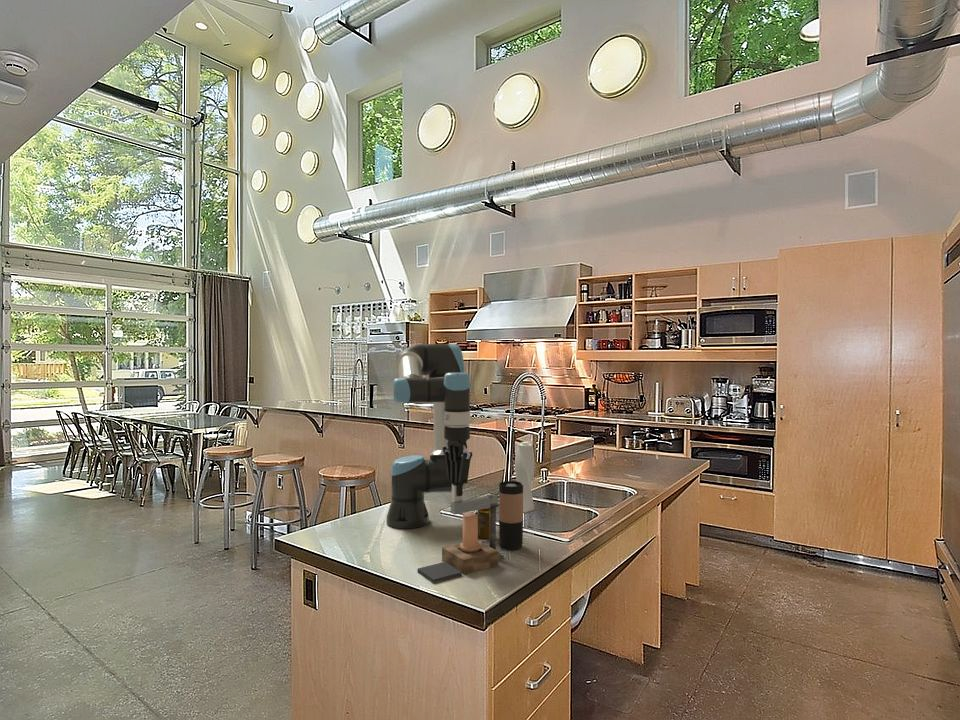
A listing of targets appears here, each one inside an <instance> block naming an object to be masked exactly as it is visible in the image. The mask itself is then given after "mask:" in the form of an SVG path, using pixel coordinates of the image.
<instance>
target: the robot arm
mask: <svg viewBox="0 0 960 720" xmlns="http://www.w3.org/2000/svg"><path fill="white" fill-rule="evenodd" d="M464 361H465V360H464V355H463V352H462V348H461V347H460V346H459V345H458V344H453V343H452V344H451V343H430V344H429V343H420V344H419V343H418V344H414V345H411V346H408V347H407V348H405V349H403V350H402V351H401V352H400V353H399V354H398V355H397V357H396V360H395V367H396V368H395V370H396V371H397V373H398V377H397V378H394V380H393V401H394V402H395V403H400V404H401V403H402V404H403V403H404V404H410V403H411V404H414V403H417V404H419V403H420V404H421V403H433V405H432V406H433V450H432V452H431V453H430V454H429V459H426V458H425V456H424V455H421V454H420V455H419V454H418V455H417V454H415V455H413V454H412V455H407V456H402V457H399V458H397V459H395V460H393V462H392V463H391V472H390V476H391V491H390V492H391V495H390V496H391V498H390V504H389V508H388V511H387V515H386V520H385V521H386V525H387V526H389V527H391V528H396V529H403V530H404V529H406V530H407V529H417V528H421V527H424V526H426V525H428V524H429V523H430V515H429V511H428V508H427V504H426V503H425V494H428V493H429V494H430V493H431V494H432V493H433V494H435V493H451V502H456V501H462V500H463V494H464V493H463V492H464V491H463V490H464V489H463V488H464V486H465V484H467V483H468V480H469V474H470V473H469V472H470V466H471V460H472V458H473V452H472V451H469V450H468V444H467V441H468V440H470V439H471V427H470V425H471V408H470V407H471V405H470V404H471V385H472V384H471V378H470V374H469V373H467V372H465V362H464ZM423 376H428V377H423Z"/></svg>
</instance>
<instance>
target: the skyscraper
mask: <svg viewBox="0 0 960 720" xmlns="http://www.w3.org/2000/svg"><path fill="white" fill-rule="evenodd" d="M534 452H535V451H534V440H533V438H531V439H530V443H529V441H521V443H519V442H518V441H517V444H516V451H515V460H514V472H515V473H514V474H515V480H516V481H517V482H520V483H521V484H522V485H523V515H524V514H529V513H532V512H535V511H538V508H535V504H534V500H533V494H532V486H533V481H534V477H535V466H536V465H535V454H534Z"/></svg>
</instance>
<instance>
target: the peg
mask: <svg viewBox="0 0 960 720" xmlns="http://www.w3.org/2000/svg"><path fill="white" fill-rule="evenodd" d="M460 543H461V544H460V550H462V551H463V552H464V553H466V554H470V553H474V552H478V550H480V543H478V513H473V512H466V513H462V542H460Z"/></svg>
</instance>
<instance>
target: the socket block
mask: <svg viewBox="0 0 960 720" xmlns="http://www.w3.org/2000/svg"><path fill="white" fill-rule="evenodd" d="M496 535H497V507H496V508H489V540H488V543H489V544H485V543H483V542H480V541H478V543H480V550H478V552H474V553H470V554H466V553H464V552H463V551H462V550H460V544H461V543H462V542H459V543H455V544H452V545H445V546H443V547H442V546H441V561H442V562H446V563H448V564H450V565H451V566H453V567H454V568H456V569H458V570H459V571H461V572H462V575H466V574H471V573H474V572H477V571H481V570H485V569H488V568H493V567H496V566H499V565H500V560H501V559H505V555H504V554H502V553H500V551H499V550H497V544H496V543H497V539H496Z"/></svg>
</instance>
